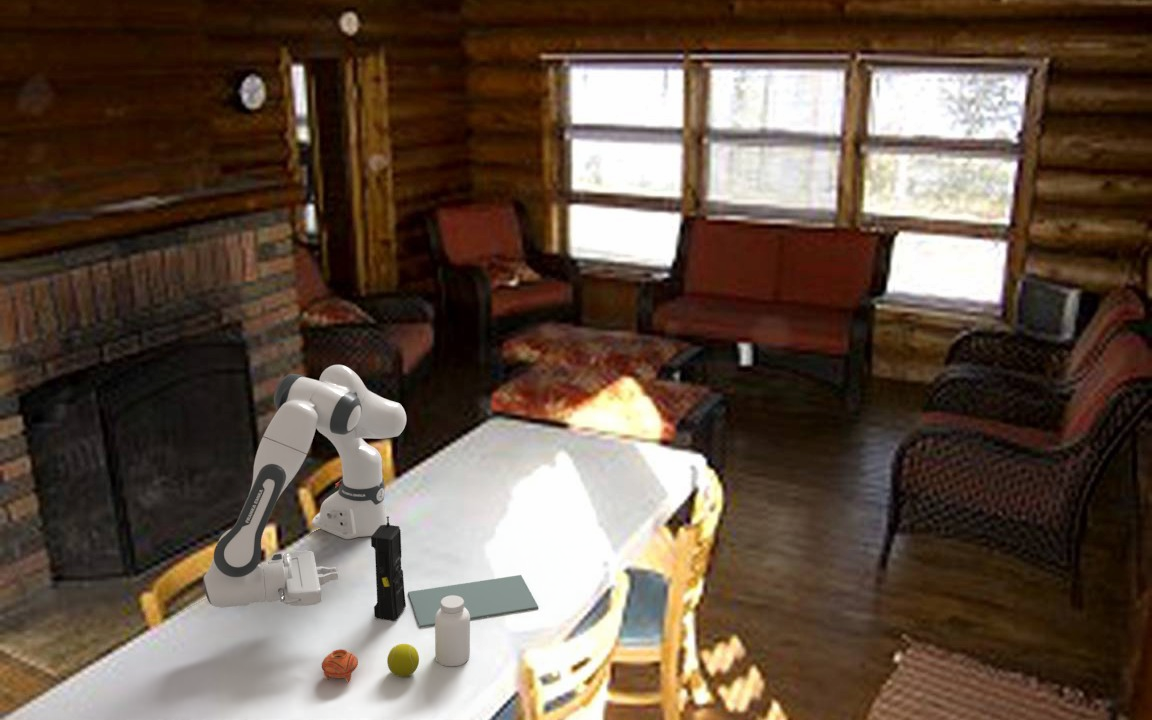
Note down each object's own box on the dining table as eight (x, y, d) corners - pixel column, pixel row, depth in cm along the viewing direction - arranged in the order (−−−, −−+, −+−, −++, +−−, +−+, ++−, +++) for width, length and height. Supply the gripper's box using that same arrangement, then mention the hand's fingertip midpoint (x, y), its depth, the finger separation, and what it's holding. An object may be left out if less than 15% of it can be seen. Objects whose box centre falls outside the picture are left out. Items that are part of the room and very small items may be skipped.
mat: (419, 627, 247) (419, 625, 247) (408, 593, 262) (408, 591, 261) (538, 608, 257) (538, 606, 256) (521, 576, 271) (521, 574, 271)
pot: (327, 691, 223) (323, 662, 222) (321, 679, 230) (317, 650, 229) (363, 682, 226) (359, 652, 225) (356, 669, 233) (352, 641, 232)
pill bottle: (455, 671, 231) (455, 614, 226) (428, 660, 235) (427, 603, 230) (477, 654, 237) (476, 598, 233) (450, 643, 241) (449, 587, 237)
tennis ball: (420, 664, 234) (420, 637, 231) (417, 683, 227) (416, 656, 225) (390, 663, 233) (389, 637, 231) (385, 682, 227) (384, 656, 224)
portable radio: (395, 624, 248) (392, 532, 240) (372, 621, 249) (368, 529, 241) (407, 607, 256) (404, 517, 248) (384, 604, 257) (380, 514, 249)
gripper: (279, 592, 230) (341, 583, 234) (274, 549, 248) (332, 542, 252) (281, 616, 232) (343, 607, 236) (275, 572, 250) (333, 564, 254)
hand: (337, 573), depth 244 cm, fingers closed
